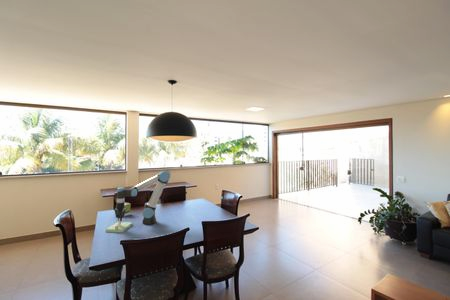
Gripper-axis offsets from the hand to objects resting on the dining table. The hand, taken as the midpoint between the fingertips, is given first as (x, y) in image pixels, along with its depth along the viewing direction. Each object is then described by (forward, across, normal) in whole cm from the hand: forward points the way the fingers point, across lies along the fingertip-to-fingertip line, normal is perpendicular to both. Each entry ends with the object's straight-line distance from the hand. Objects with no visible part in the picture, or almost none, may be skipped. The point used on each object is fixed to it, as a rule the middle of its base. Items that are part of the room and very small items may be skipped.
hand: (119, 224), depth 222 cm
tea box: (+5, +21, -46) cm, 51 cm away
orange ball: (0, -2, +9) cm, 9 cm away
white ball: (+3, +4, 0) cm, 5 cm away
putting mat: (+4, 0, 0) cm, 4 cm away
